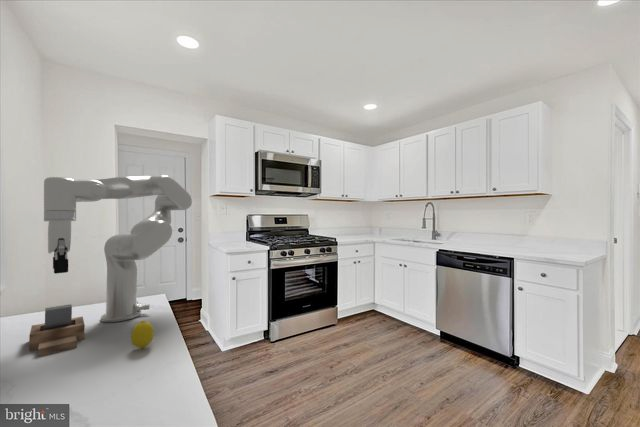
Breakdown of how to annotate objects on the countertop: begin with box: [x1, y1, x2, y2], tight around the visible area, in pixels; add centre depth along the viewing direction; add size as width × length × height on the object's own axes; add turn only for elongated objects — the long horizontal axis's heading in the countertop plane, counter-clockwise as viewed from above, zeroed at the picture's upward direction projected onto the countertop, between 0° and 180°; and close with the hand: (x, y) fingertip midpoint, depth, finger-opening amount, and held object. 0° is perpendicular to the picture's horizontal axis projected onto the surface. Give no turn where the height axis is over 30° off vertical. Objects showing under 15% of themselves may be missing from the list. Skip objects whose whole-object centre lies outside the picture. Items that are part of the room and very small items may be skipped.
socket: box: [28, 316, 86, 357], centre depth 87 cm, size 12×22×4 cm, turn 43°
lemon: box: [130, 320, 155, 350], centre depth 81 cm, size 6×6×8 cm
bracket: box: [44, 303, 73, 330], centre depth 87 cm, size 6×4×10 cm, turn 134°
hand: (60, 270), depth 89 cm, fingers open, 9 cm apart
